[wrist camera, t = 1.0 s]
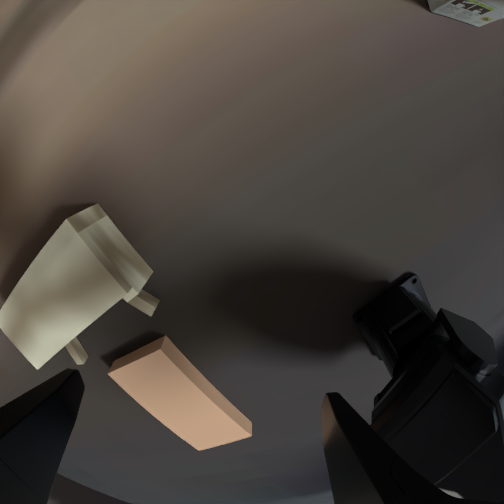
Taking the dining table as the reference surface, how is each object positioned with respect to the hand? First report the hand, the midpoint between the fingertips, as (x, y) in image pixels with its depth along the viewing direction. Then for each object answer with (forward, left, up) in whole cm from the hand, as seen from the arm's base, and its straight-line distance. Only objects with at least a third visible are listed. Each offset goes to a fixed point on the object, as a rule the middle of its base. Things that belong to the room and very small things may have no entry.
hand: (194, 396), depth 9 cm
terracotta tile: (-9, +13, -14) cm, 21 cm away
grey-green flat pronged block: (+5, +13, -13) cm, 19 cm away
